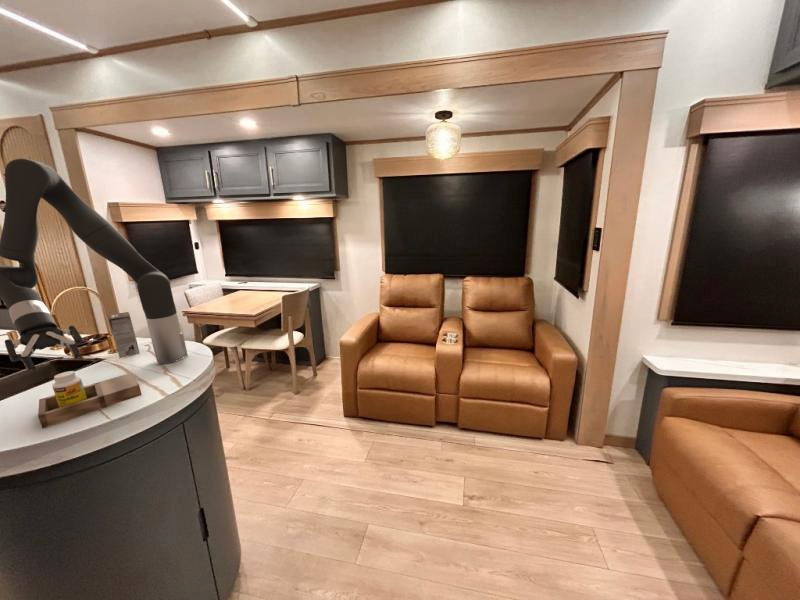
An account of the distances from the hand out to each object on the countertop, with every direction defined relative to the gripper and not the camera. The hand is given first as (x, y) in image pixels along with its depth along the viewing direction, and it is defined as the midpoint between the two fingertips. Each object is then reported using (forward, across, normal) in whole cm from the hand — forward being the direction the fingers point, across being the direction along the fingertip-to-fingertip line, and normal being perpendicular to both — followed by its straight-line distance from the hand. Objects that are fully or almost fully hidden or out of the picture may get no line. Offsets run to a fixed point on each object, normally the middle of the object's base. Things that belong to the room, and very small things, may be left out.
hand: (56, 362), depth 89 cm
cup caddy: (+14, +4, +4) cm, 15 cm away
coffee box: (-13, +24, +31) cm, 41 cm away
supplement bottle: (+13, 0, +4) cm, 14 cm away
